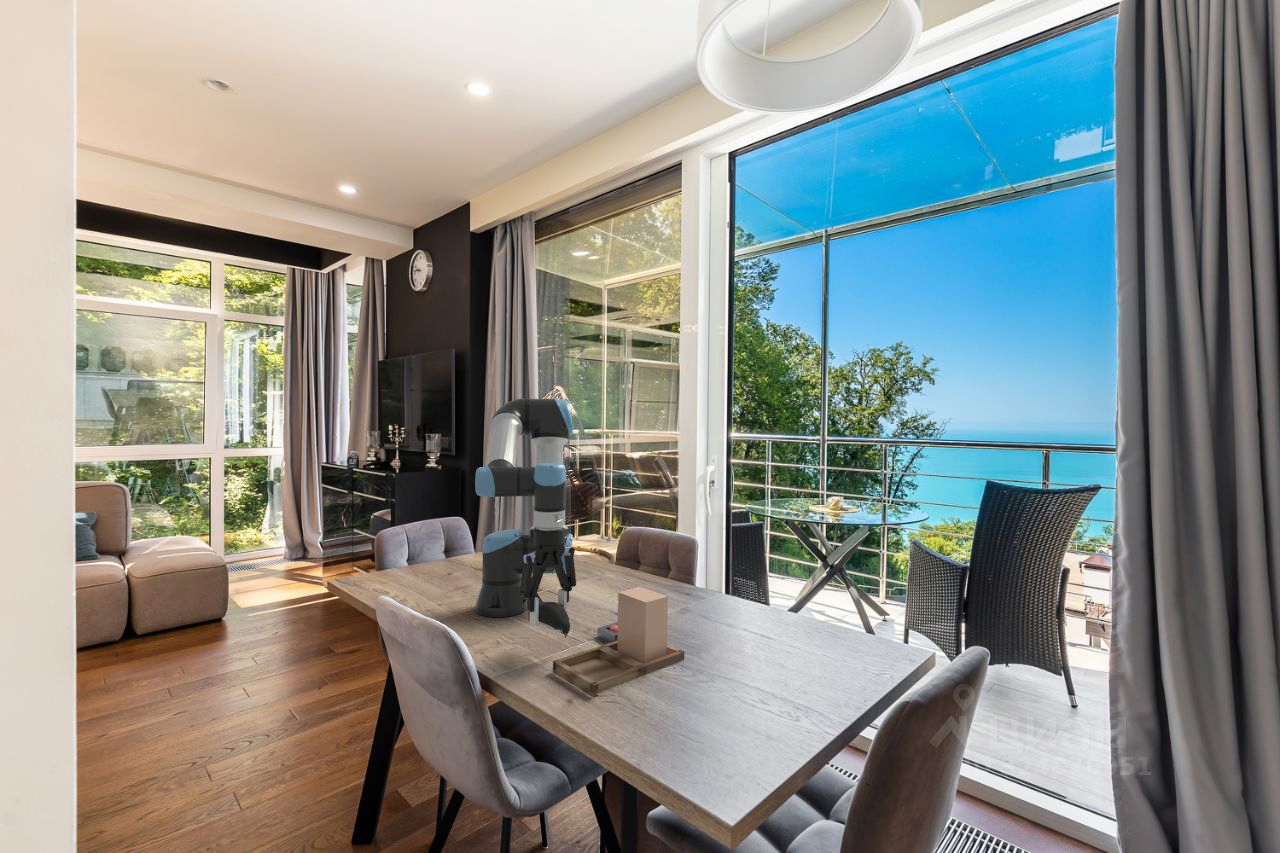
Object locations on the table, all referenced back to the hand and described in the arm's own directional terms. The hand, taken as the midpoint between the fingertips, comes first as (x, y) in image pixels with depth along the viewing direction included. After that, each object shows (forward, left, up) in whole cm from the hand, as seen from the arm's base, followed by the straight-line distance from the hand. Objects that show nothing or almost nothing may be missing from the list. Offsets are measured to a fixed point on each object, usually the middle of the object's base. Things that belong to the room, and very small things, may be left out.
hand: (548, 619), depth 141 cm
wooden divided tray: (+17, +9, -9) cm, 21 cm away
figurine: (+1, 0, -2) cm, 2 cm away
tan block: (+17, +16, -8) cm, 24 cm away
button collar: (+4, +19, -9) cm, 21 cm away
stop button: (+4, +19, -8) cm, 21 cm away
